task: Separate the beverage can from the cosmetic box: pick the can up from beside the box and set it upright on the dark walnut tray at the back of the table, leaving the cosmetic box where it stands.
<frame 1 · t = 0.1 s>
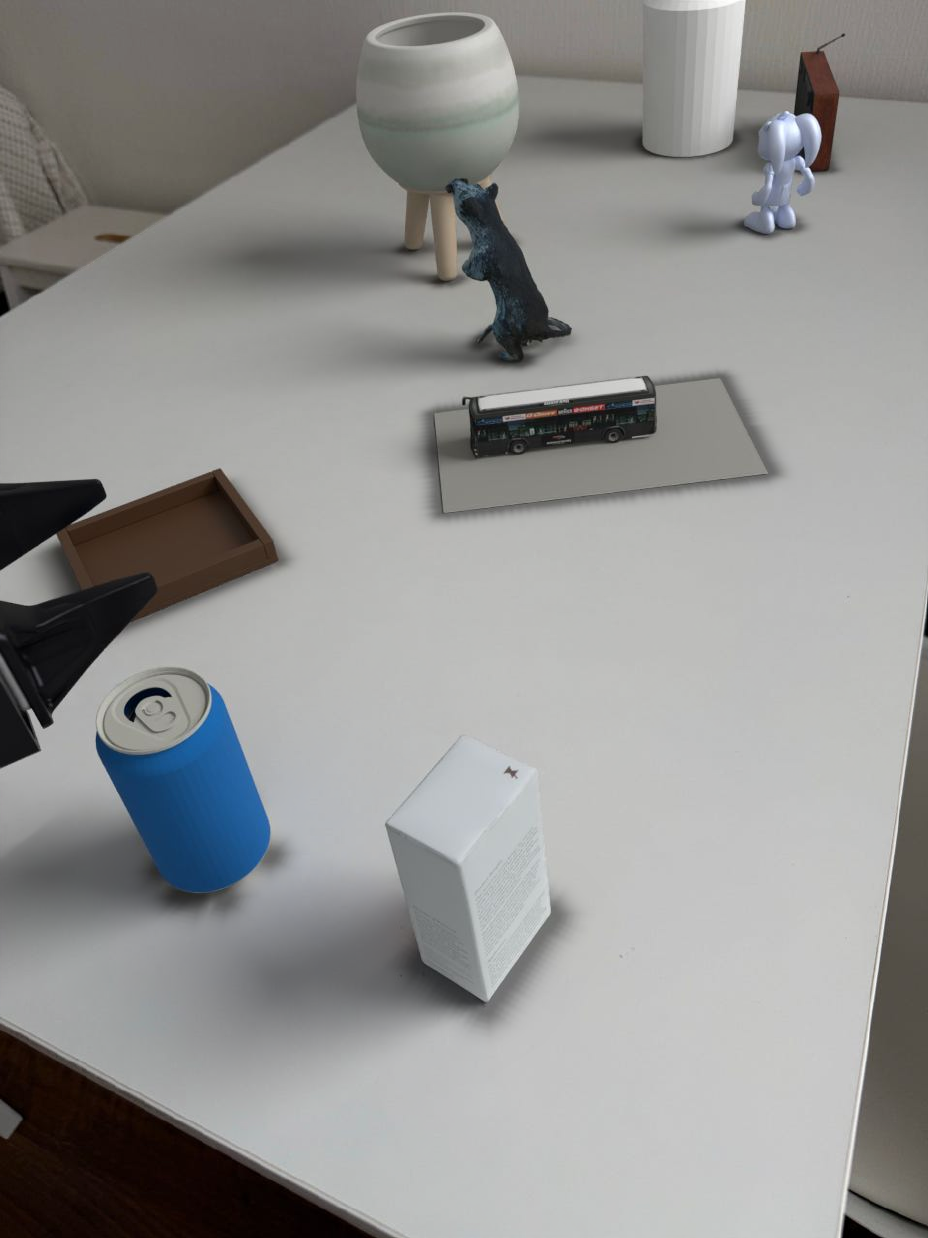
hand: (127, 531, 51), 18 cm above the table, tool horizontal, fingers open, 9 cm apart
beverage can: (217, 852, 59), on the table
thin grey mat: (590, 443, 85), on the table
cosmetic box: (486, 941, 53), on the table
walnut tray: (168, 555, 79), on the table
radio: (808, 151, 126), on the table
bottle: (687, 142, 133), on the table
toy figurine: (772, 227, 112), on the table
sculpture: (516, 345, 98), on the table
planter: (454, 258, 114), on the table
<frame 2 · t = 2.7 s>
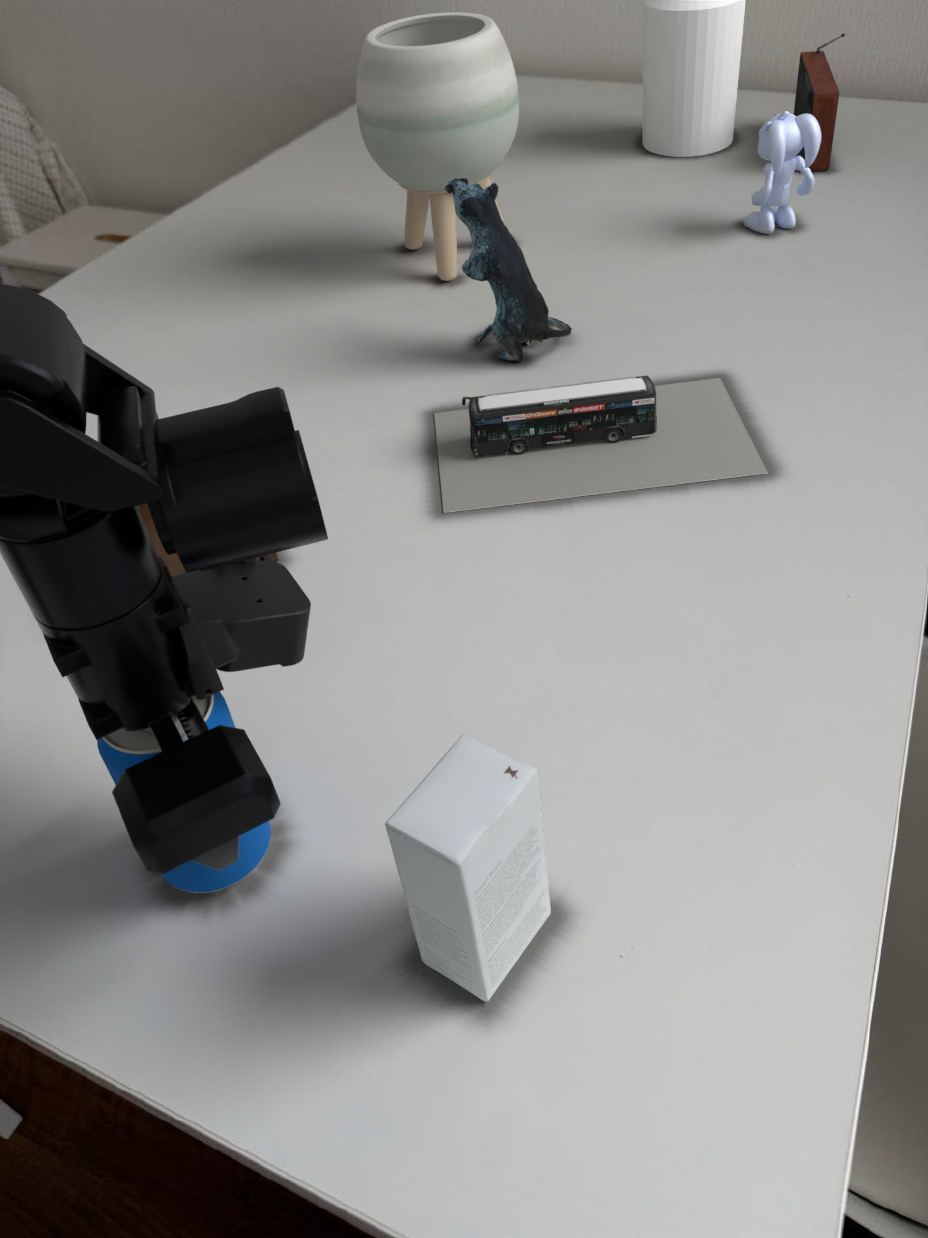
hand: (199, 803, 56), 4 cm above the table, tool pointing down
beverage can: (218, 852, 59), on the table, touching gripper
everything else where it was.
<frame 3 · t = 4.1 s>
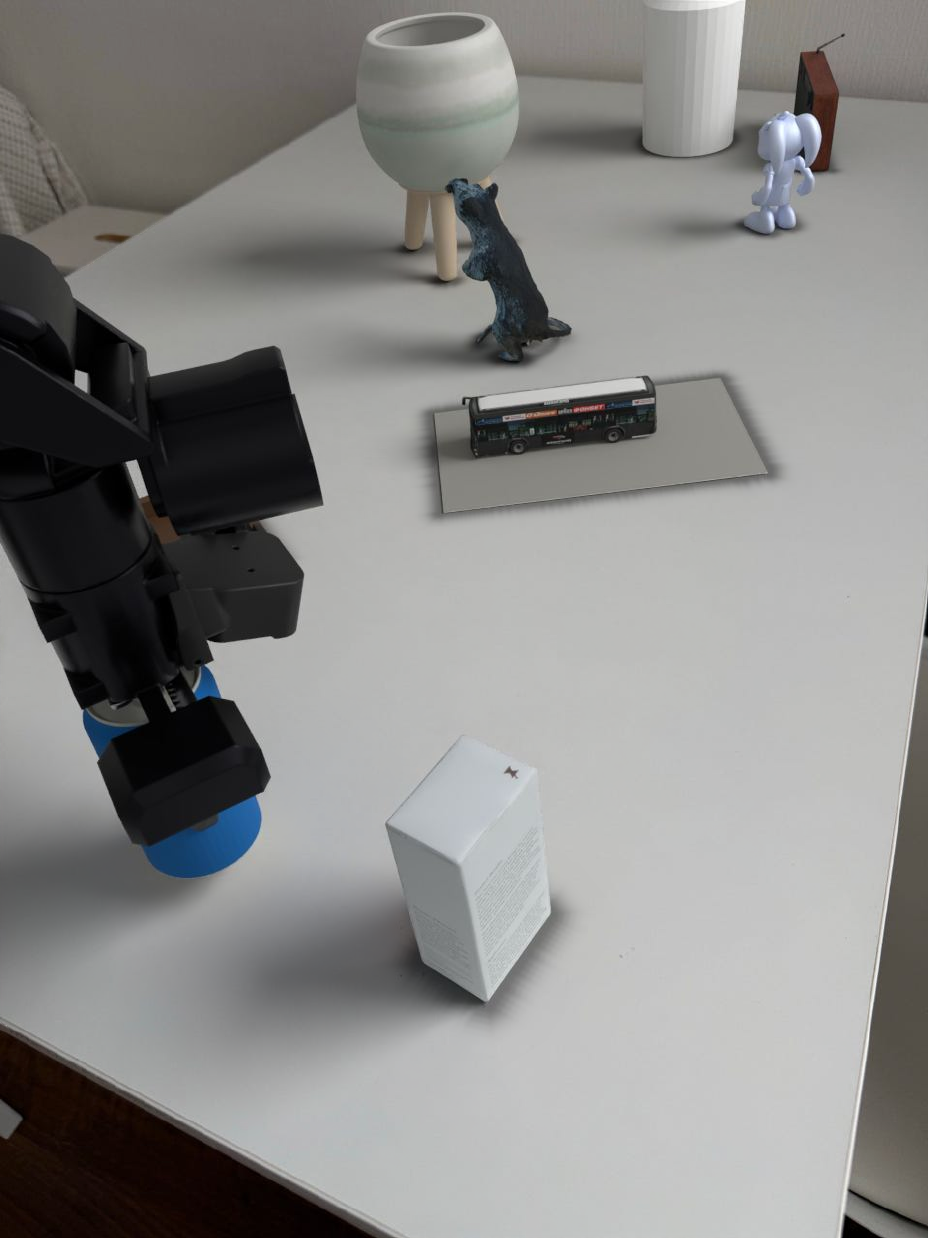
hand: (186, 780, 54), 6 cm above the table, tool pointing down, fingers closed on beverage can, 6 cm apart
beverage can: (207, 840, 57), point 1 cm above the table, touching gripper
everything else where it was.
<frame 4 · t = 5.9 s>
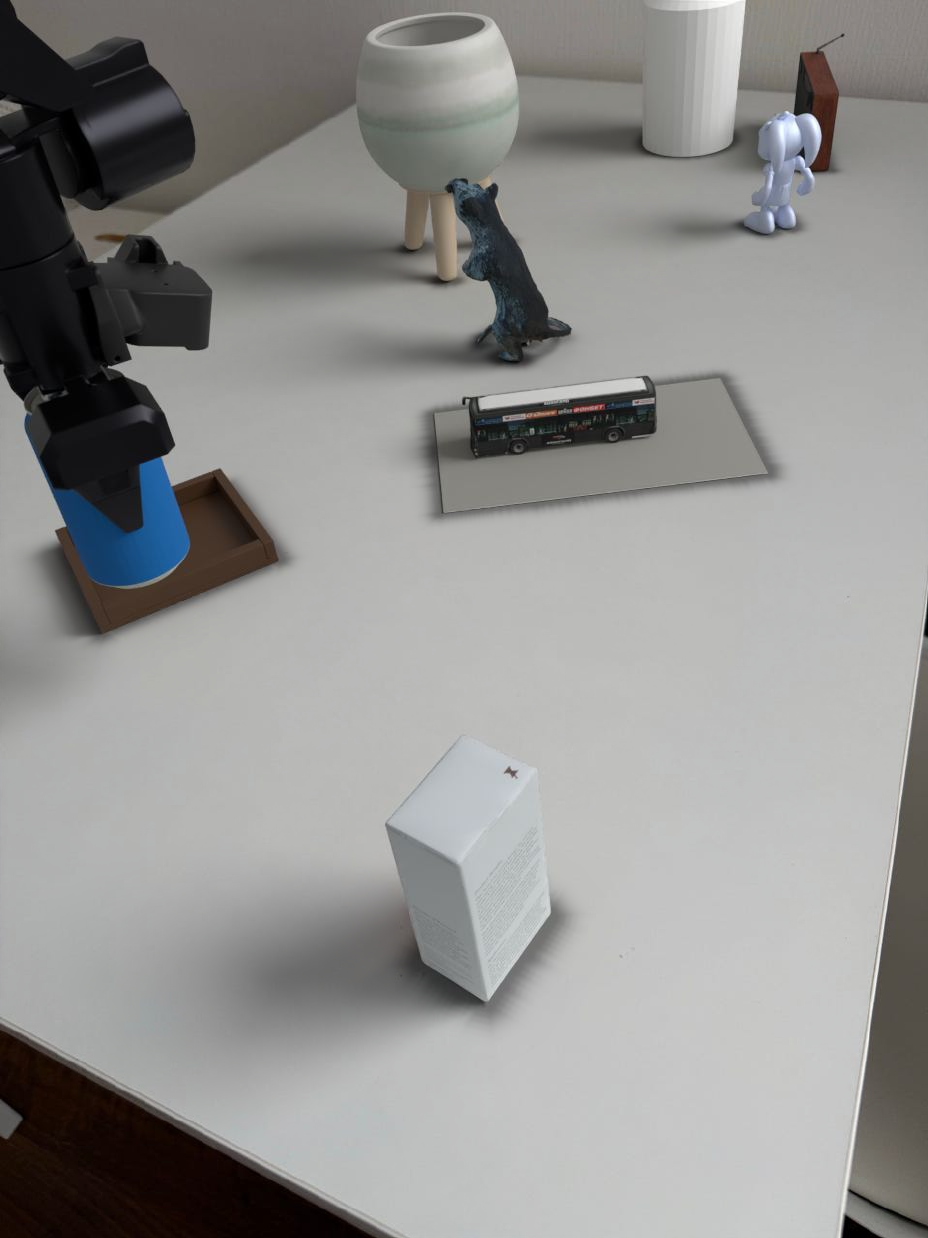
hand: (119, 500, 62), 13 cm above the table, tool pointing down, fingers closed on beverage can, 6 cm apart
beverage can: (142, 566, 65), point 8 cm above the table, touching gripper
everything else where it was.
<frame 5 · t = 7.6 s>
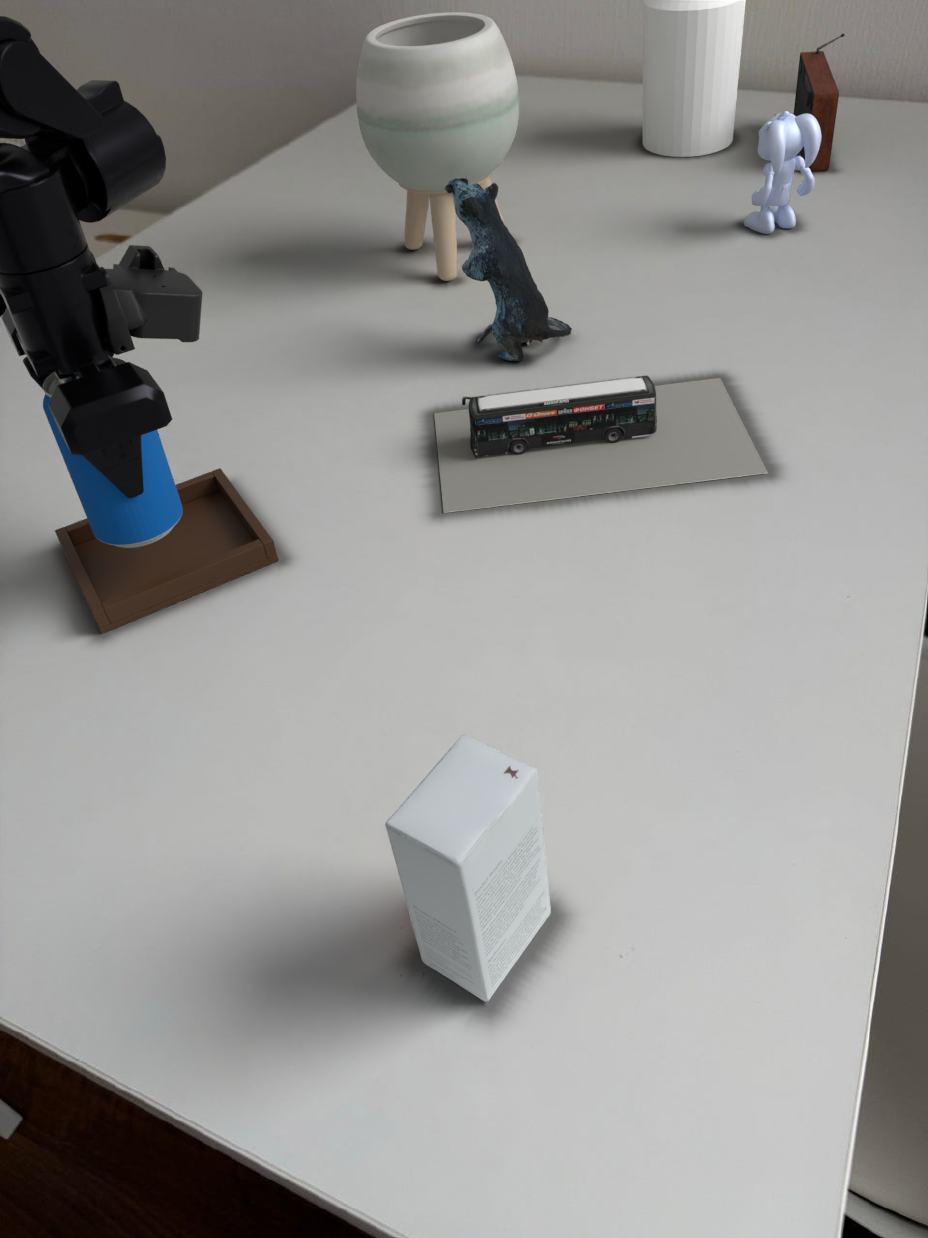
hand: (122, 472, 72), 9 cm above the table, tool pointing down, fingers closed on beverage can, 6 cm apart
beverage can: (142, 529, 75), point 4 cm above the table, touching gripper
everything else where it was.
when the fingers open (5 cm above the table, at t = 8.9 s): beverage can stays where it is, resting on walnut tray.
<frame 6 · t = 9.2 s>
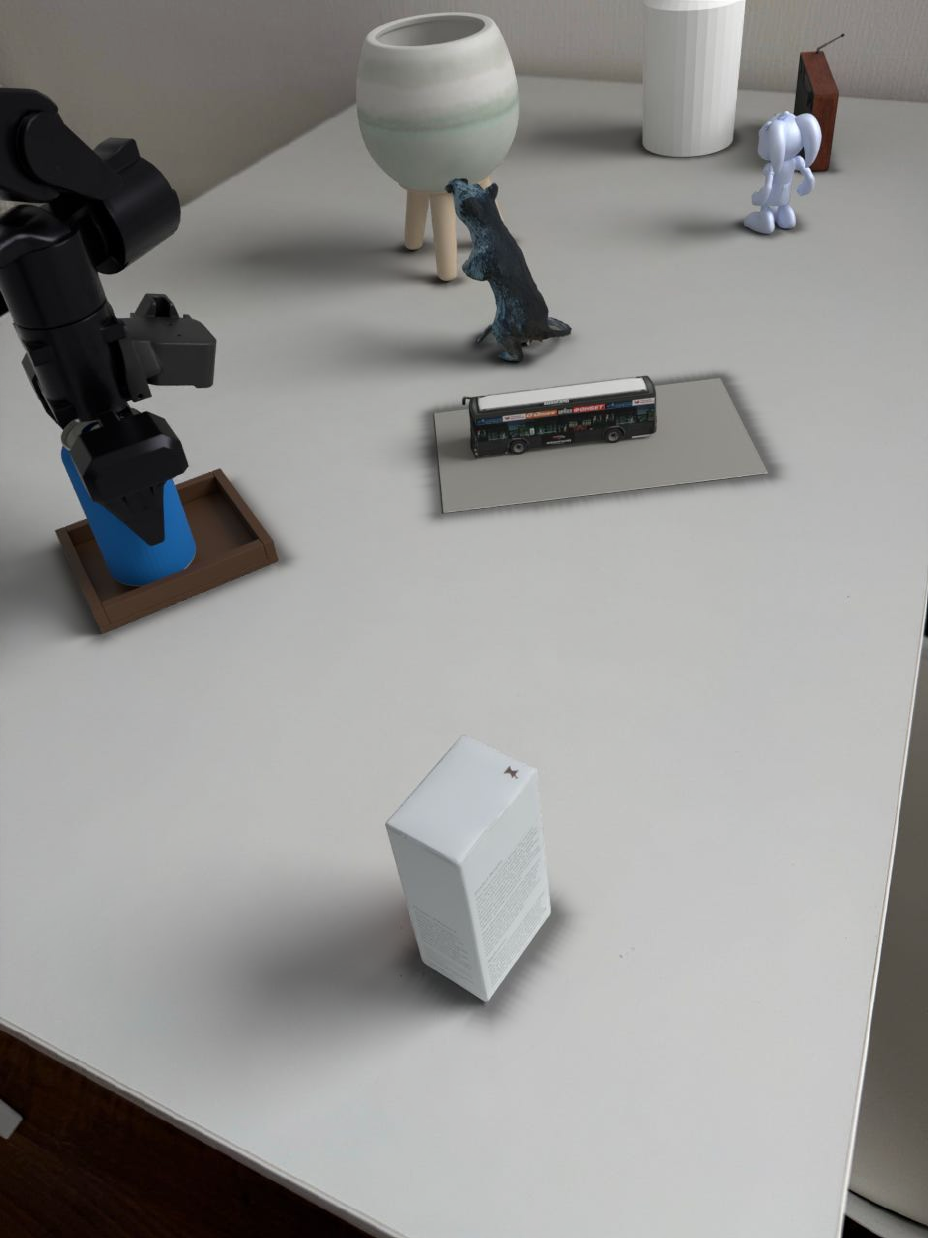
hand: (138, 510, 74), 5 cm above the table, tool pointing down, fingers open, 9 cm apart
beverage can: (156, 567, 78), resting on walnut tray
everything else where it was.
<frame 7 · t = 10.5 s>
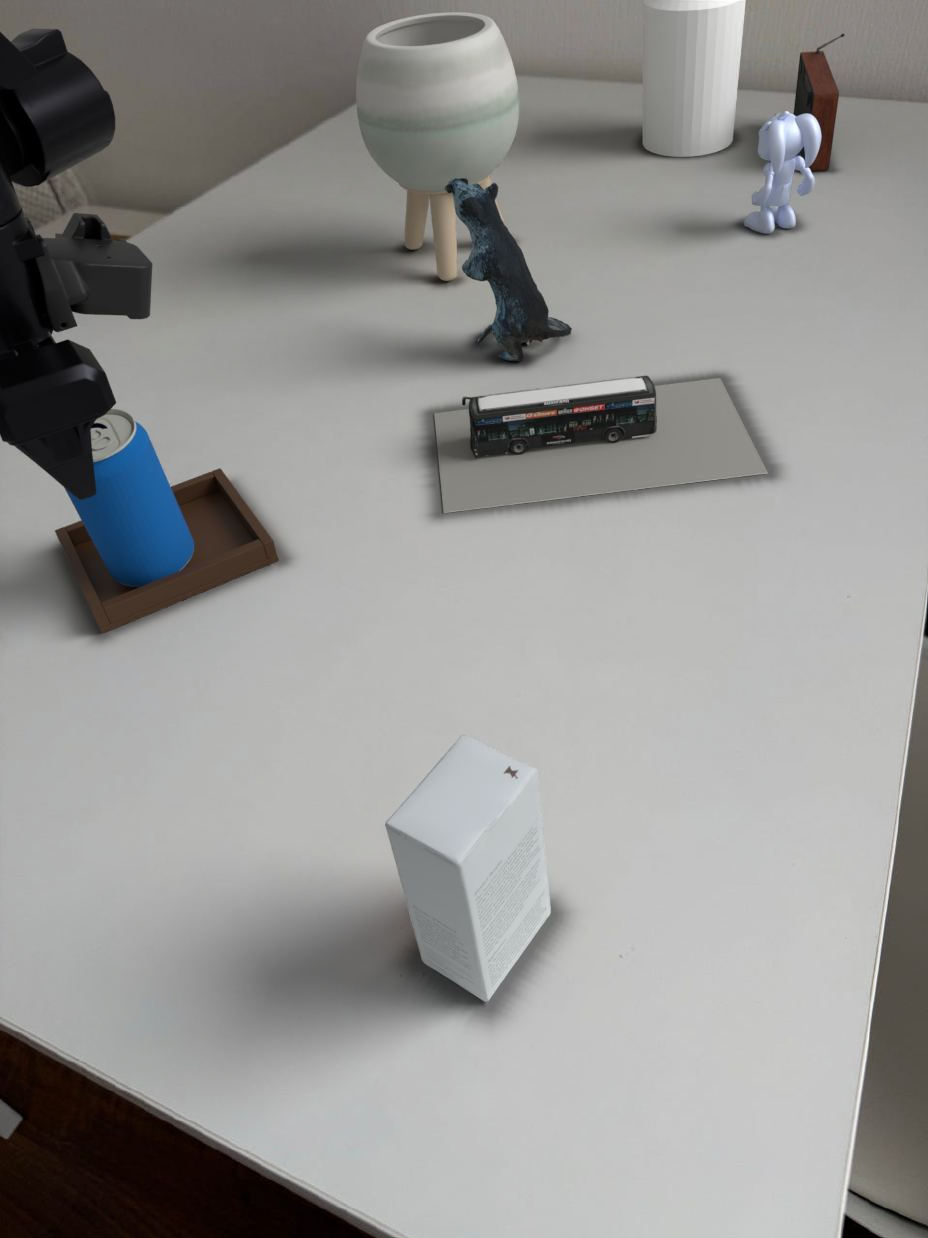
hand: (69, 461, 66), 13 cm above the table, tool pointing down, fingers open, 9 cm apart
beverage can: (155, 564, 77), point 1 cm above the table, touching gripper, walnut tray
everything else where it was.
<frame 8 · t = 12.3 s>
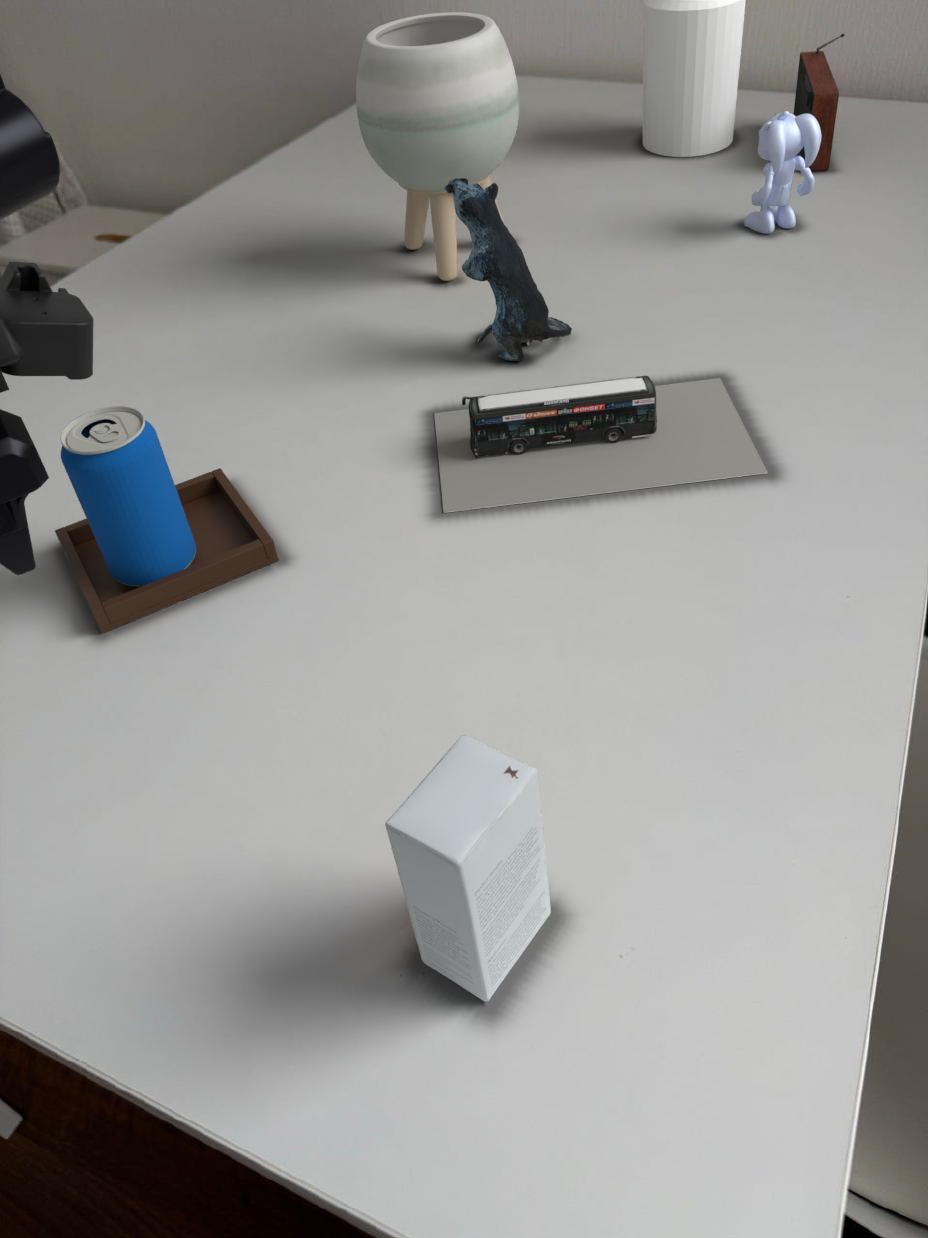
hand: (10, 529, 61), 13 cm above the table, tool pointing down, fingers open, 9 cm apart
beverage can: (156, 567, 78), resting on walnut tray
everything else where it was.
at the end: beverage can inside the target area in the walnut tray (1.8 cm from its centre), point 0.3 cm above the walnut tray's base; beverage can tilted 0°; cosmetic box moved 0.2 cm from its start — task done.
